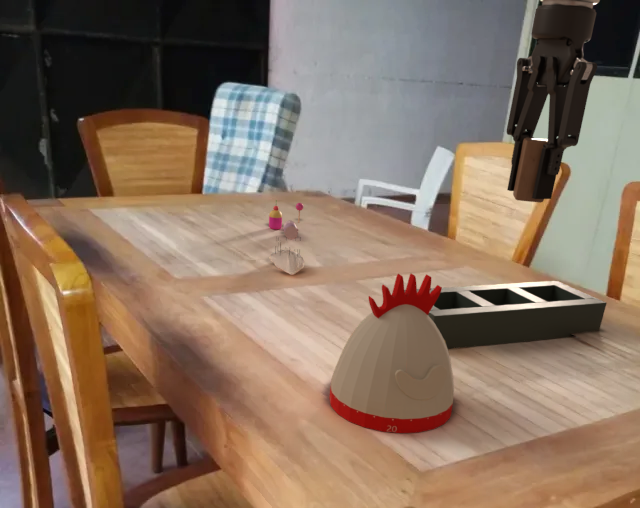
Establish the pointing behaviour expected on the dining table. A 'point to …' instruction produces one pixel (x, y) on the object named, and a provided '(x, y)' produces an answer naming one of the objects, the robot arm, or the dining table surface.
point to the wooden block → (528, 169)
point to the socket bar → (513, 313)
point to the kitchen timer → (396, 365)
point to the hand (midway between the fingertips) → (528, 194)
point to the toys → (289, 225)
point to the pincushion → (287, 260)
